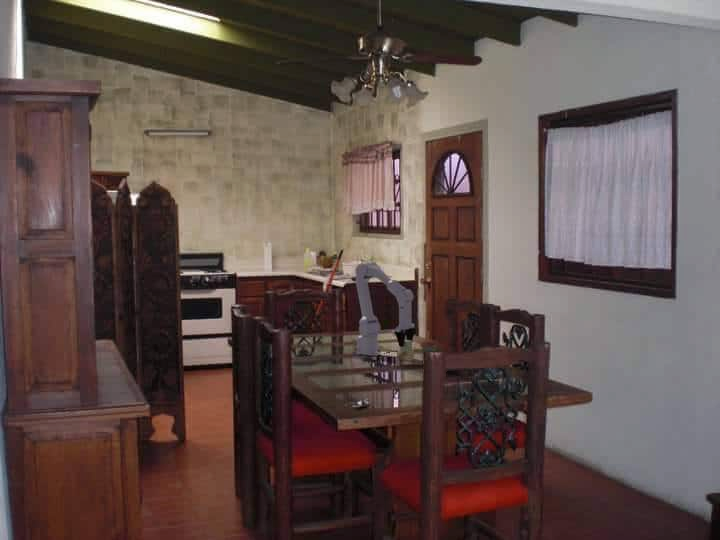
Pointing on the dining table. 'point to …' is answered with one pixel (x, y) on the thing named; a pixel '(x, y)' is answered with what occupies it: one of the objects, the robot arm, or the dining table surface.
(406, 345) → the sage brick
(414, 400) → the dining table surface
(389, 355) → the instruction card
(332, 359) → the dining table surface
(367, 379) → the dining table surface
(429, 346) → the cupcake
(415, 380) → the dining table surface
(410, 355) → the beech base brick
